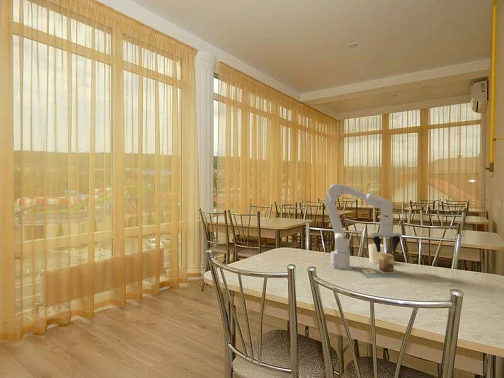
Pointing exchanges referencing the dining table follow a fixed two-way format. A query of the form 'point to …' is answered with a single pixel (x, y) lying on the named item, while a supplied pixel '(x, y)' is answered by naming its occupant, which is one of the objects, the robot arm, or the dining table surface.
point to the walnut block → (386, 267)
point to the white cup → (375, 253)
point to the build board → (382, 274)
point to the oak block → (386, 258)
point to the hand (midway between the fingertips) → (386, 251)
